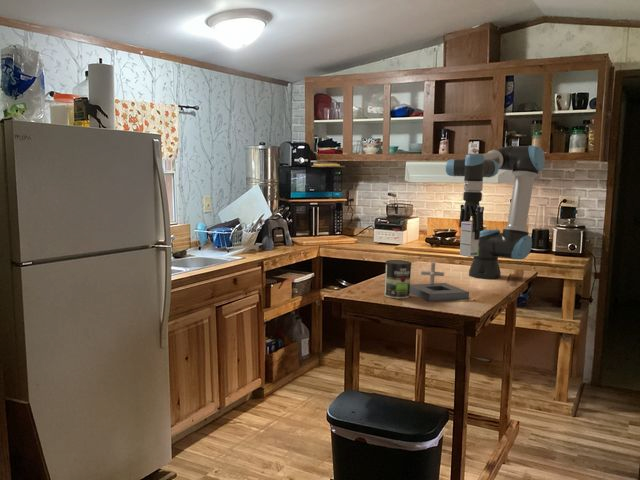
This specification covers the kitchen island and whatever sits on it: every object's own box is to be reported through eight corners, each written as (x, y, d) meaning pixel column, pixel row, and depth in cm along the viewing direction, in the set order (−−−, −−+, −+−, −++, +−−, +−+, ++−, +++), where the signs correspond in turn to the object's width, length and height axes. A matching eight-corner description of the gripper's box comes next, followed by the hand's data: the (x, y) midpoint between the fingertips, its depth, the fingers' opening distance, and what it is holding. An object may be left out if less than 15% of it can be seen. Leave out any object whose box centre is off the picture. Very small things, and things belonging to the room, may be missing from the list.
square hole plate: (444, 289, 238) (445, 282, 237) (468, 299, 221) (469, 292, 220) (407, 291, 232) (408, 284, 232) (429, 301, 215) (429, 294, 215)
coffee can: (414, 298, 220) (415, 263, 219) (390, 299, 217) (391, 264, 216) (403, 292, 230) (404, 259, 228) (380, 293, 227) (381, 260, 225)
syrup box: (470, 257, 229) (472, 222, 226) (458, 255, 233) (461, 221, 231) (479, 256, 232) (481, 222, 230) (467, 253, 237) (470, 220, 234)
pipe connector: (443, 287, 242) (444, 265, 241) (420, 286, 244) (421, 263, 243) (443, 283, 252) (444, 261, 251) (421, 281, 254) (422, 260, 253)
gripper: (452, 190, 237) (449, 243, 240) (479, 192, 218) (475, 249, 222) (467, 190, 239) (464, 242, 242) (495, 192, 221) (491, 249, 224)
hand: (469, 245), depth 232 cm, fingers closed on syrup box, 7 cm apart
